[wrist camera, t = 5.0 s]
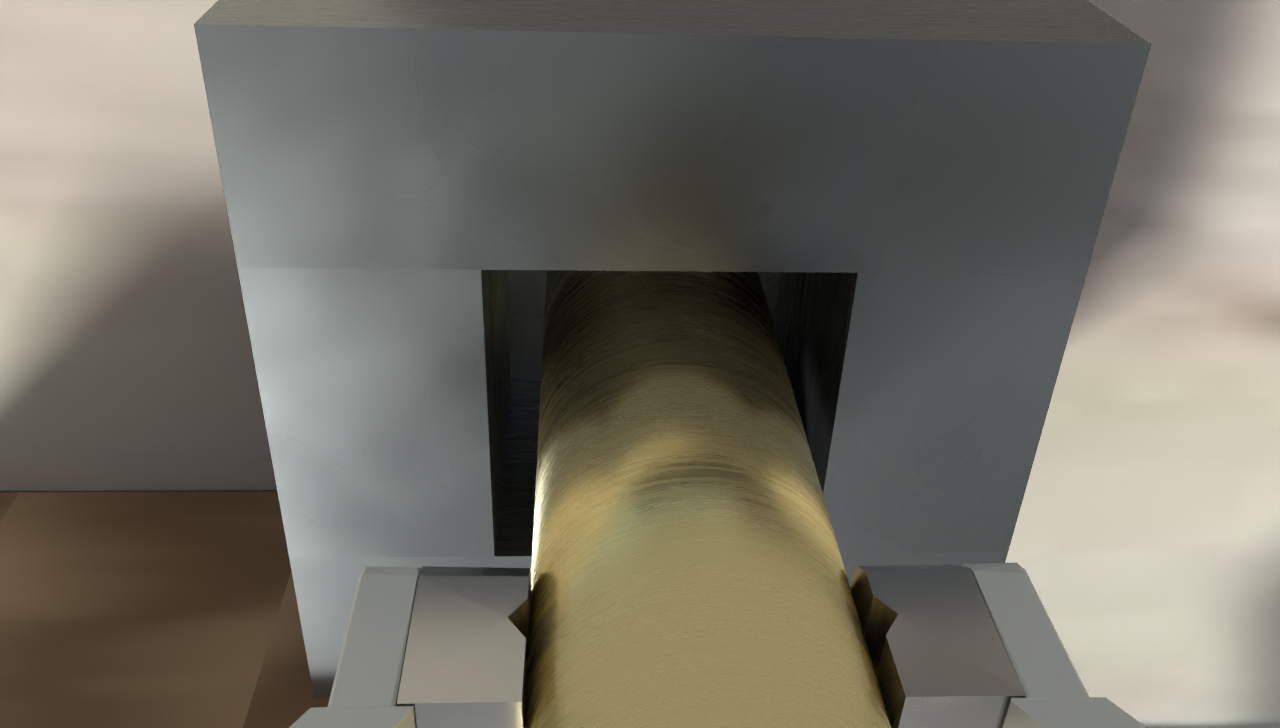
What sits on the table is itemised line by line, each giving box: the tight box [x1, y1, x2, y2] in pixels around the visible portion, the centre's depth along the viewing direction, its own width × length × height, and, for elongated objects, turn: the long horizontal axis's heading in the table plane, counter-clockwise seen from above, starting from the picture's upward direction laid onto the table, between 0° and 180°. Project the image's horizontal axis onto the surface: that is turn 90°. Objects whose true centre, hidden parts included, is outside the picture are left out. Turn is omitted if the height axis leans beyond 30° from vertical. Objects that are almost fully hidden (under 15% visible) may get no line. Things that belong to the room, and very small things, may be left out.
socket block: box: [194, 0, 1151, 697], centre depth 15 cm, size 9×9×5 cm
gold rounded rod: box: [525, 270, 891, 728], centre depth 12 cm, size 3×3×10 cm
